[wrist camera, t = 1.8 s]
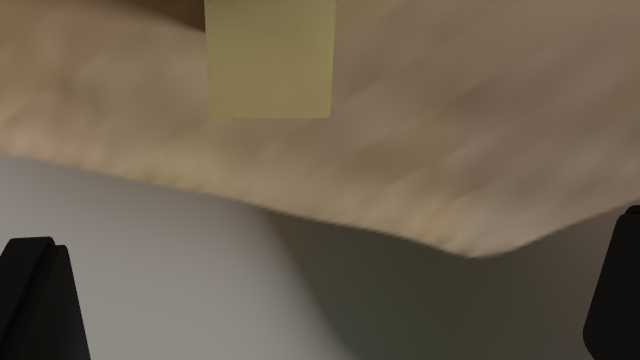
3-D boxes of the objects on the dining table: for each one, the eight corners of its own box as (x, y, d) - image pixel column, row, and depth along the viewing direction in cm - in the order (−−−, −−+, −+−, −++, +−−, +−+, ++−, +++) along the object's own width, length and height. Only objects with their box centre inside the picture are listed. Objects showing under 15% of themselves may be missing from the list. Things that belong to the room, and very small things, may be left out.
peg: (211, -55, 27) (204, -6, 18) (301, -52, 27) (336, -4, 19) (214, 35, 29) (210, 118, 20) (299, 36, 29) (330, 117, 20)
